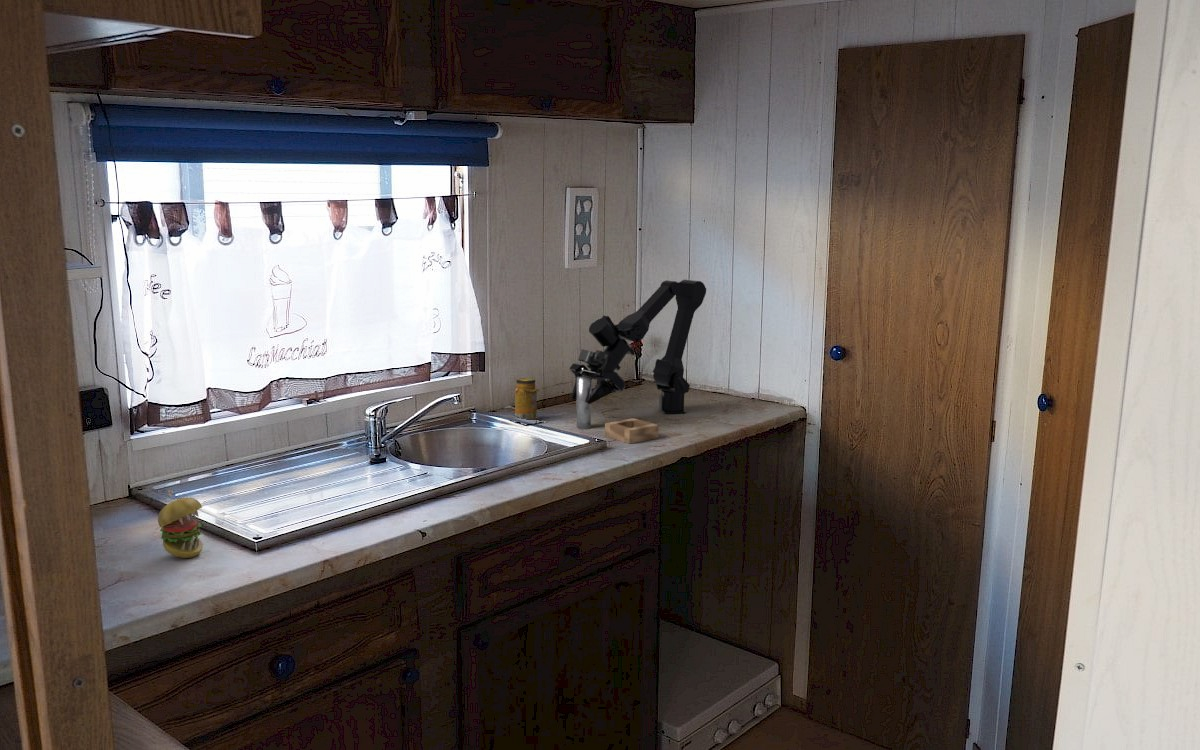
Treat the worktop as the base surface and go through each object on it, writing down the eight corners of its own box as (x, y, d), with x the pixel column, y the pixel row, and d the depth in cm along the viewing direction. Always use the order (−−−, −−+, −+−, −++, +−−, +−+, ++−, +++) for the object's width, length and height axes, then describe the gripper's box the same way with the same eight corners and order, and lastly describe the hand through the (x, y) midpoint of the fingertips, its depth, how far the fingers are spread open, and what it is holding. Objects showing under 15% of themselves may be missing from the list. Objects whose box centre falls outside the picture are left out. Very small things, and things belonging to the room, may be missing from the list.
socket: (633, 430, 278) (633, 418, 277) (658, 438, 270) (658, 425, 270) (604, 436, 272) (605, 423, 271) (629, 443, 264) (629, 430, 264)
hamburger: (188, 564, 179) (184, 498, 176) (151, 561, 180) (146, 495, 178) (213, 549, 186) (209, 485, 184) (177, 546, 187) (172, 483, 185)
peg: (589, 425, 283) (589, 375, 281) (592, 428, 280) (592, 378, 277) (575, 426, 283) (575, 376, 280) (578, 429, 279) (578, 379, 276)
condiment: (529, 417, 293) (528, 376, 291) (546, 422, 286) (546, 380, 284) (507, 420, 288) (507, 378, 286) (525, 426, 282) (525, 383, 280)
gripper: (575, 334, 286) (542, 377, 281) (617, 343, 272) (584, 388, 267) (596, 359, 292) (565, 401, 288) (639, 369, 278) (607, 413, 273)
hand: (579, 401), depth 279 cm, fingers open, 7 cm apart
